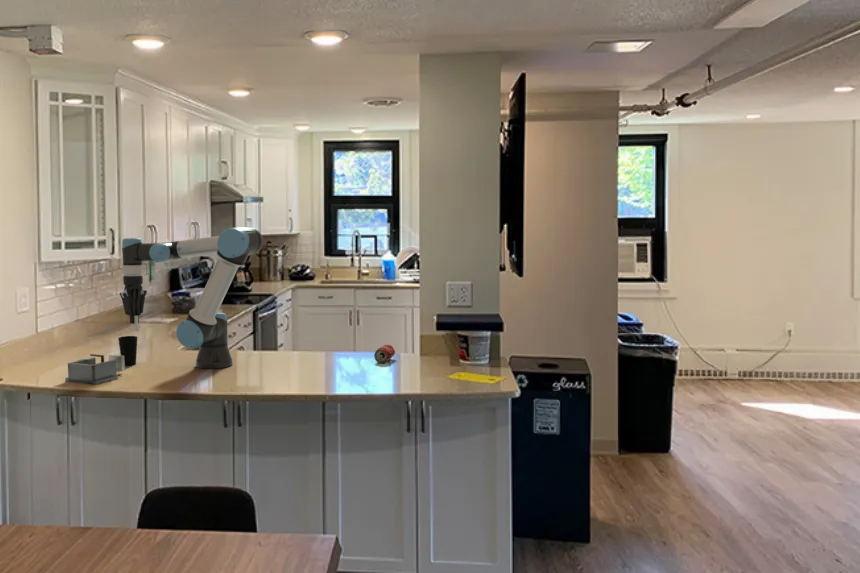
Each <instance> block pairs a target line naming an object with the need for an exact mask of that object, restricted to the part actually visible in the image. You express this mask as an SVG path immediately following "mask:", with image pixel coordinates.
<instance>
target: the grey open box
mask: <svg viewBox="0 0 860 573" xmlns="http://www.w3.org/2000/svg"><path fill="white" fill-rule="evenodd" d="M96 359H97V358H96V356H90V357H86V358H81V359H76V360H73V361H68V362H67V375H68V376H67V377H65V379H64V380H65V382H69V383H71V382H72V383H81V384H85V385H86V384H88V385H95V386H96V385H99V384H104V383H106V382H112V381H115V380H118V379H119V376H118V374H117V370H116V360H110V361H109V360H107V361H104V362H101V361H100V362H97V361H96Z"/></svg>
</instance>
